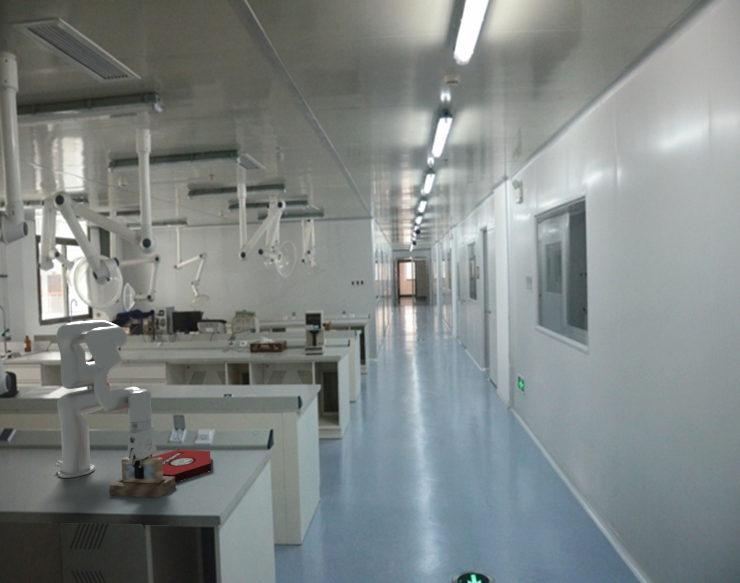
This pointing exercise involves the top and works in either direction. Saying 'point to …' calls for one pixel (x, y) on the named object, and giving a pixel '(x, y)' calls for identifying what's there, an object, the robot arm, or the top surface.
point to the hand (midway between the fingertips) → (142, 476)
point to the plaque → (185, 463)
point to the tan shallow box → (142, 488)
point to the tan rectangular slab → (151, 470)
